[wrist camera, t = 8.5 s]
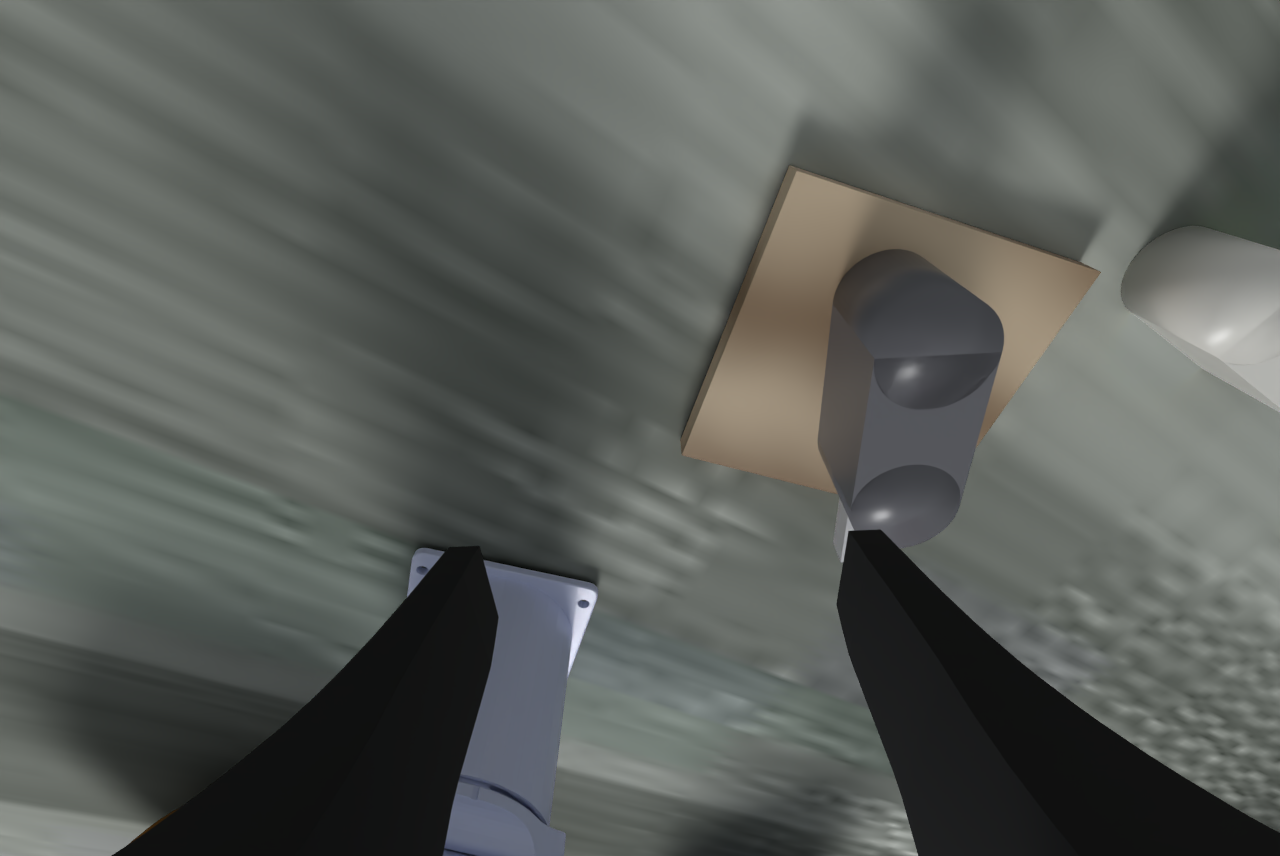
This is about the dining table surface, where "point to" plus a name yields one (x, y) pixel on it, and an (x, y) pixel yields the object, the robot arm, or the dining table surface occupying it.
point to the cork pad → (802, 306)
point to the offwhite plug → (1213, 304)
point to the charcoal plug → (904, 395)
